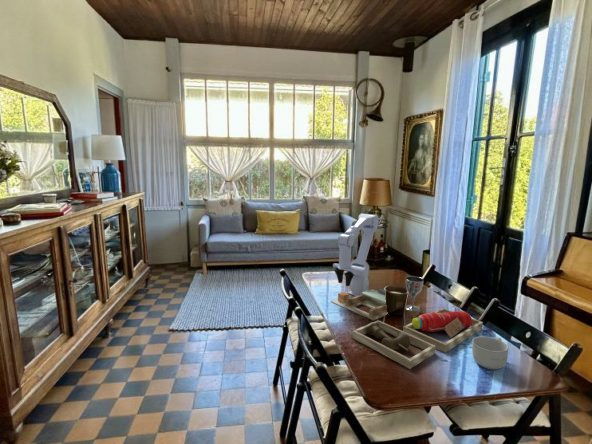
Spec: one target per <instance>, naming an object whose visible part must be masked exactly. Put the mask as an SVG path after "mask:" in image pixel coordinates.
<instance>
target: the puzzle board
mask: <svg viewBox="0 0 592 444" xmlns="http://www.w3.org/2000/svg"><path fill="white" fill-rule="evenodd" d="M349 298H350V299H347V300H346V301H345V305H344V307H343V308H344V309H347V310H349V311H351V312H353V313H356V314H358V315H360V316H361V317H362V316H363V317H365V318H366V317H367V319H369V320H371V321H377V320H379V319H380V318H383V317H385V316H388V315H389V314H388V312H387V305H386V304H385V303H383V302H380V301H378V300H375V299H372V298H370V297H367V296H365V295H359V296H353V297H349ZM358 306H364V307H366V308H368V311H369V312H366V311H364V310H361V309H359V308H357V307H358ZM387 314H388V315H387Z"/></svg>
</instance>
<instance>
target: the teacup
mask: <svg viewBox="0 0 592 444" xmlns="http://www.w3.org/2000/svg"><path fill="white" fill-rule="evenodd" d="M471 343H472V347H471V348H472V352H471V353H472V357H473V360H474V361H475V362H477V364H479V366H481V367H483V368H484V369H489V370H498V369H501V368H503V367H504V366H507V365H506V364H507V362H508V358H509V357H508V356H509V355H508V353H509V351H508V350H509V346H508V344H507V343H506V342H505V341H503V340H502V338H500V337H497V336H496V337H495V338H494V337H492V336H491V337H490V336H483V335H482V336H481V335H479V336H476V337H473V338H472V340H471Z"/></svg>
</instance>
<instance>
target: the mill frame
mask: <svg viewBox="0 0 592 444" xmlns="http://www.w3.org/2000/svg"><path fill="white" fill-rule="evenodd" d="M372 323H376V324H377V326H378V327H379V328H383V330H384V332H385V333H386V334H390V335H392V336H394V337H395V338H397V336H398V334H399V333H400V332H404V331H403V330H401V329H400V328H399V329H398V328H396V327H394V326H392V325H390V324H388V323H386V322H383V321H381V320H379V319H376V320H374V321H373V322H370V323H368V324H365V325H364V326H360V327H359V328H356V329H354V330H352V339H354V340H355V341H357V342H359V343H361V344H363V345H364V346H367V347H369V348H370V349H372V350H375V352H378V353H379V354H381V355H383V356H384V357H387V358H389V359H390V360H393V361H394V362H397V364H400V365H401V366H404V367H405V368H407V369H409V370H411V369H413V368H414V367H416V366H417V365H419V364H421V363H422V362H424V361H425V360H427V359H429V358H430V357H432V356H433V355H435V354H436V346H435V345H433V344H430V343H428V342H426V341H424V340H422V339H419V338H417V337H415V336H413V335H410V334H408V333H406V332H404V333H405V334H407V335H408V337H409V339H410V345H413V346H415V347H417V348H419V349H422V351H420V352H419V353H417V354H415V355H414V356H412V357H407V356H406V355H404V354H401V353H400V352H398V351H396V350H395V349H394V350H392V349H390V348H388V347H386V346H384V345H382V343H381V342H378V341H376V340H374V339H372V338H370V337H368V336H366V335H367V334H368V327H369V325H370V324H372Z"/></svg>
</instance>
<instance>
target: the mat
mask: <svg viewBox="0 0 592 444" xmlns="http://www.w3.org/2000/svg"><path fill="white" fill-rule="evenodd" d="M350 298H351V297H349V299H350ZM330 302H331V303H332V304H335V305H337V306H339V307H342V308H345V307H344V305H345V303H342V302H339V301H338V298H336V299H333V300H330Z"/></svg>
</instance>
